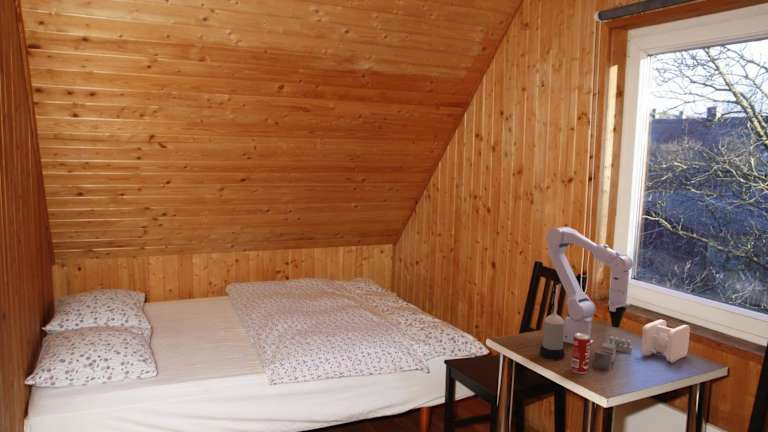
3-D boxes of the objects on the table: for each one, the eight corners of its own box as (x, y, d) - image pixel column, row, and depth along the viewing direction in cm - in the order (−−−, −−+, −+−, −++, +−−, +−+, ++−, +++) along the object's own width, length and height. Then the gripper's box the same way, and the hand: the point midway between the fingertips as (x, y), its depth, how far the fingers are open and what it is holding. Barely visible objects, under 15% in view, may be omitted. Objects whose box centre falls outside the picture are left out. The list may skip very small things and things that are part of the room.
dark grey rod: (614, 345, 213) (615, 336, 213) (624, 348, 211) (625, 338, 211) (597, 362, 196) (598, 351, 196) (608, 364, 194) (609, 354, 194)
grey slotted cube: (603, 356, 202) (604, 342, 202) (615, 359, 200) (616, 345, 199) (599, 359, 199) (600, 345, 198) (611, 362, 197) (613, 348, 196)
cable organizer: (669, 365, 199) (672, 332, 197) (638, 356, 207) (641, 324, 205) (688, 356, 209) (691, 324, 207) (658, 348, 217) (661, 317, 215)
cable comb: (608, 347, 216) (609, 335, 215) (631, 352, 211) (632, 340, 210) (607, 348, 214) (608, 337, 213) (630, 353, 209) (631, 342, 209)
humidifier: (569, 357, 203) (574, 286, 200) (552, 361, 199) (557, 289, 196) (551, 350, 210) (556, 281, 207) (534, 353, 206) (539, 283, 203)
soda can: (582, 367, 194) (585, 332, 193) (590, 373, 189) (593, 337, 188) (568, 368, 193) (570, 332, 192) (575, 374, 188) (578, 338, 187)
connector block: (596, 364, 198) (597, 349, 197) (611, 367, 195) (612, 353, 194) (593, 366, 195) (594, 352, 195) (609, 370, 192) (610, 355, 192)
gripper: (625, 295, 199) (622, 334, 201) (635, 287, 211) (632, 324, 212) (604, 291, 203) (601, 329, 205) (615, 284, 215) (612, 320, 216)
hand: (615, 326), depth 209 cm, fingers closed
